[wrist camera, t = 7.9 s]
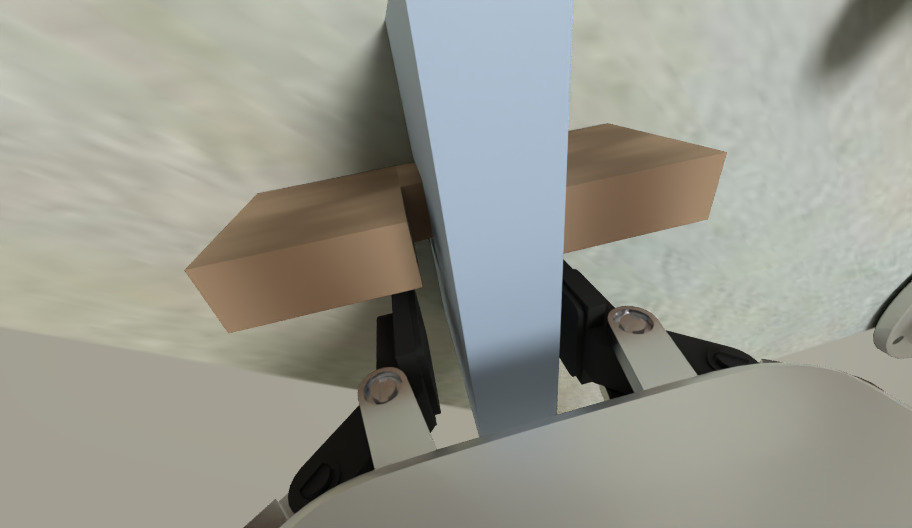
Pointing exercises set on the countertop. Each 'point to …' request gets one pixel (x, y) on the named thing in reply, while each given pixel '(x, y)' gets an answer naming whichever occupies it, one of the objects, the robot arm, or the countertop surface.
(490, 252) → the blue slot plate
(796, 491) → the robot arm
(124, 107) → the countertop surface
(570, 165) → the walnut slot plate
